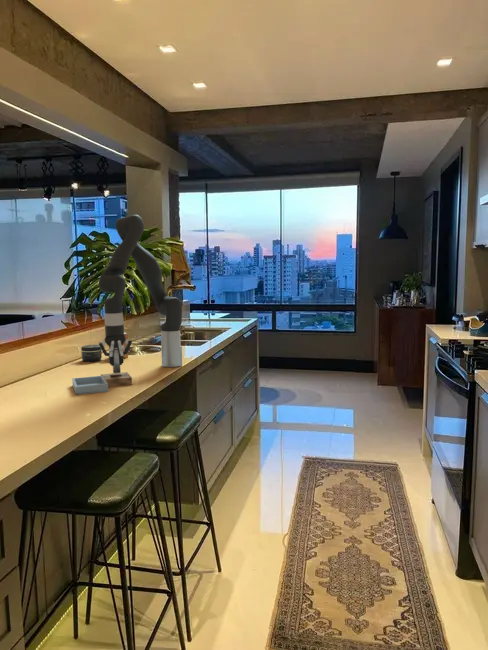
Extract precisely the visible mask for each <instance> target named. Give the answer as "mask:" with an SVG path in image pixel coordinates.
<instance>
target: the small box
mask: <svg viewBox="0 0 488 650" xmlns="http://www.w3.org/2000/svg"><path fill="white" fill-rule="evenodd" d="M124 336H125V338H126V339H127V340H129V338H128V333H127V332H124ZM125 347H126V342H124V344H123V345H122V350H123V351H124V350H125ZM128 358H129V352H128V353H127V354H125V355H124V356H123V359H128Z"/></svg>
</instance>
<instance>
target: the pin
mask: <svg viewBox="0 0 488 650" xmlns="http://www.w3.org/2000/svg"><path fill="white" fill-rule="evenodd" d="M112 357H113V366H112V373H122V372H121V371H122V370H121V365H120V351H119V348H114V349H113V354H112Z"/></svg>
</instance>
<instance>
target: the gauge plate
mask: <svg viewBox="0 0 488 650" xmlns="http://www.w3.org/2000/svg"><path fill="white" fill-rule="evenodd" d="M100 376H102V377H103V379H104V378H105V380H106V382H107V383H108V388H109V387H120V386H121V387H122V386H130V385H133V380H132V379H133V377H132V376H131V374H130V373H128V372H127V371H126V372H125V371H124V372H120V373H113V372H112V373H103V374H100Z"/></svg>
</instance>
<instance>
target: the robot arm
mask: <svg viewBox="0 0 488 650" xmlns="http://www.w3.org/2000/svg"><path fill="white" fill-rule="evenodd" d="M115 229H116V232H117V234H118V236H119V238H120V240H122V241H121V243H120V244H119V245H118V246H117V247H116V249H114V252H113V253H112V256H111V258H110V261H109V264H108V266H107V267H106V268H105V270H104V271H103V272H102V274H101V275H100V277H99V280H98V288H99V290H100V291H101V292H103V293H114V294H113V297H109V298H106V299H105V300H104V301H103V302H104V303H103V305H104V331H105V332H104V333H105V335H104V336H105V337H104V340H102V341H99V342H98V345H99V346H100V348H101V349H102V350H101V352H102V353H103V355H104V356H105V357H108V363H109V365H110V366H112V367H113V357H112V354H113V349H114V348H119V351H120V366H123V364H124V361H125V360H124V358H123V356H124V355H125V354H127V353H128V354H129V351H130V348H131V346H132V343H133V341H132V340H131V339H128V340H127V339H126V338H125V336H124V333H125V320H124V319H125V318H124V314H123V299H124V294H125V290H126V287H127V286H126V285H127V283H126V279H125V277H124V276H123V275H124V274H126V270H127V267H128V264H129V261H130V258H132V260H133V261H134V262H135V265H136V267H137V270H138V271H139V273H140V275H141V276H142V279H143V281H144V283H145V284H146V287H147V289H148V291H149V292H150V295H151V298H152V300H153V302H154V305H155V308H156V310H157V311H158V314H160V315H162V316H165V318H166V319H165V321H164V323H162V324H161V326H160V343H161V344H160V346H161V347H160V348H161V349H160V350H161V353H160V354H161V367H165V368H177V367H181V366H183V346H182V345H181V325H182V323H183V322H182V321H183V320H182V319H183V306H182V302H181V300H180V298H178V297H175V296H174V297H173V296H169V295H167V292H166V291H165V289H164V287H163V273H162V269H161V267H160V264H159V262H158V261H157V259H156V257H155V256H154V255H153V254H152V253H151V252H150V251H148V250H147V249H146V248H144V247H143V246H142V245H141V244H139V240H140V239H141V237H142V235H143V233H144V230H145V223H144V220H143V218H142V217H141V216H140V215H139V214H130V215H126V216H123V217H120V218H118V219H117V220H116V221H115ZM124 342H126V347H125V350H124V351H123V350H122V345H123V344H124ZM105 346H108V351H107V350H106V348H105Z"/></svg>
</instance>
